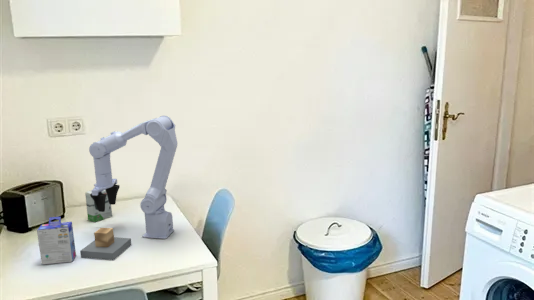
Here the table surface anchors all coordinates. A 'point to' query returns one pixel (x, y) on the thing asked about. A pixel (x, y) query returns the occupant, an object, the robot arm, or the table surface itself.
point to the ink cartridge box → (56, 242)
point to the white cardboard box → (93, 210)
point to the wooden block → (104, 237)
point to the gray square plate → (106, 249)
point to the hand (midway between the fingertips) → (107, 207)
